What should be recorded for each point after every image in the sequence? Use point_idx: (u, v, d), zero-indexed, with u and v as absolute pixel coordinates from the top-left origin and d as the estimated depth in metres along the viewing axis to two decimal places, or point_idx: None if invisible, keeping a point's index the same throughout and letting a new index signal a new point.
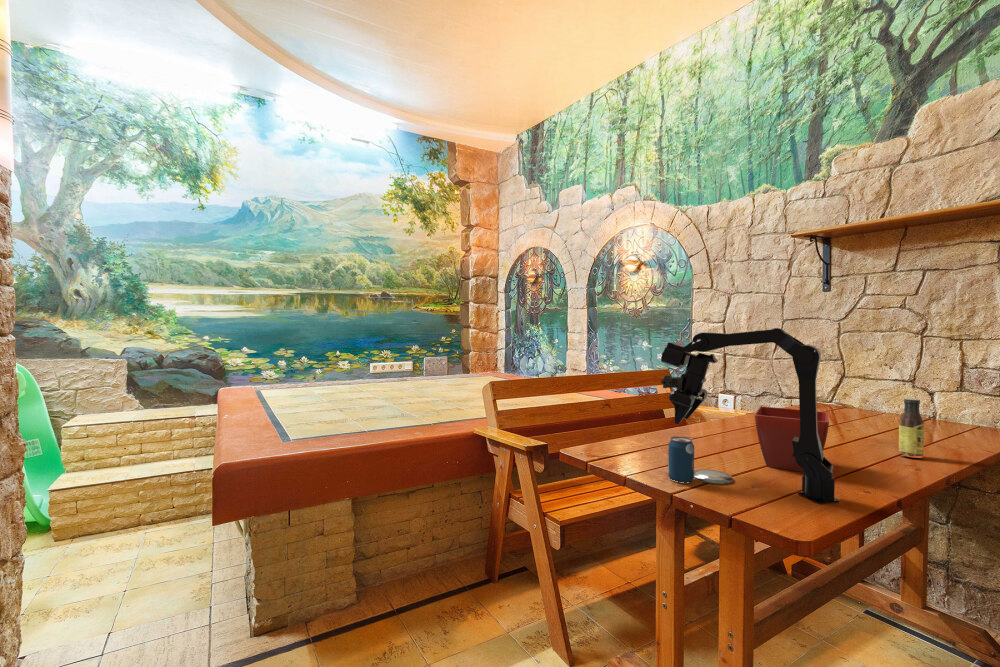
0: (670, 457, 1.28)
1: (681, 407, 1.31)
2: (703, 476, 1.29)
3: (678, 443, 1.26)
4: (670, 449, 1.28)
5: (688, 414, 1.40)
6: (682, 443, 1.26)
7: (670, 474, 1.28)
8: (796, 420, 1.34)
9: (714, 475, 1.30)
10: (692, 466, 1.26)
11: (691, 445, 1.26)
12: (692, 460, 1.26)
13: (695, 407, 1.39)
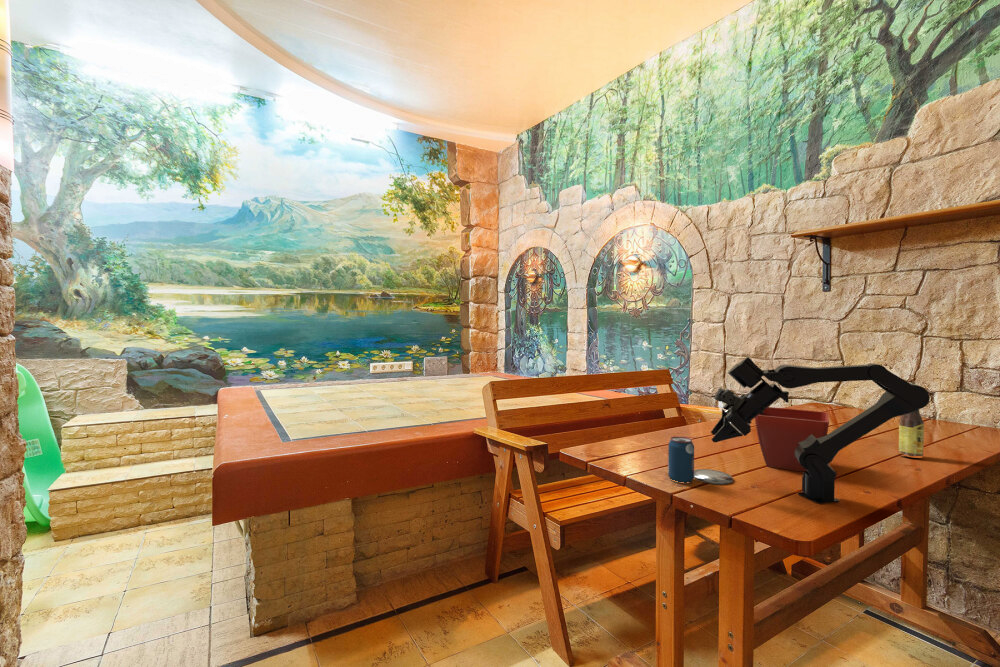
0: (670, 457, 1.28)
1: (729, 429, 1.18)
2: (703, 476, 1.29)
3: (678, 443, 1.26)
4: (670, 449, 1.28)
5: (717, 431, 1.29)
6: (682, 443, 1.26)
7: (670, 474, 1.28)
8: (796, 420, 1.34)
9: (714, 475, 1.30)
10: (692, 466, 1.26)
11: (691, 445, 1.26)
12: (692, 460, 1.26)
13: None
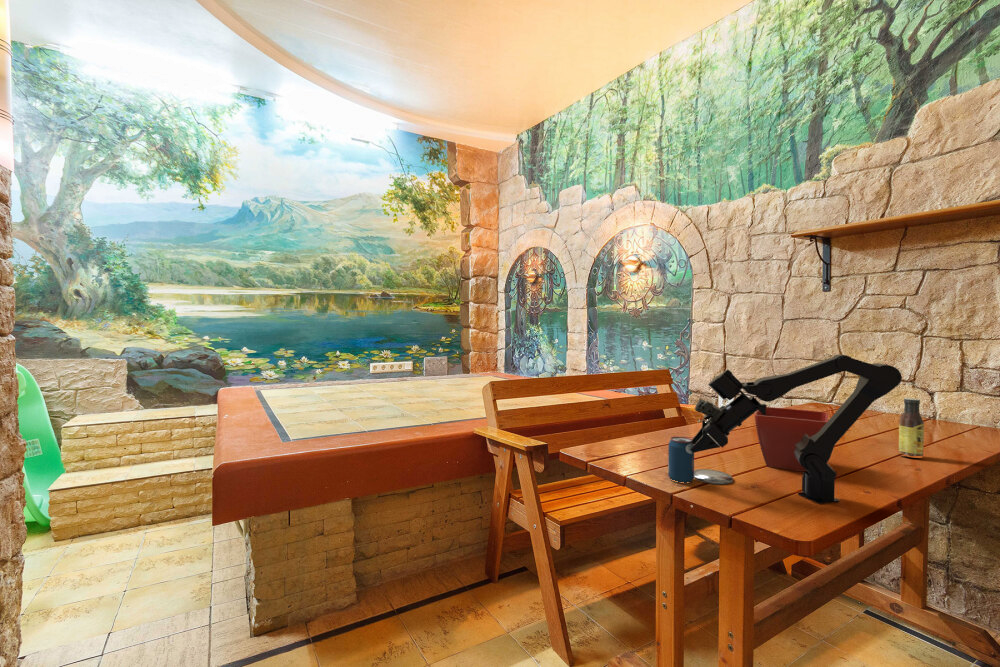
0: (670, 457, 1.28)
1: (708, 440, 1.21)
2: (703, 476, 1.29)
3: (678, 443, 1.26)
4: (670, 449, 1.28)
5: (697, 441, 1.31)
6: (682, 443, 1.26)
7: (670, 474, 1.28)
8: (796, 420, 1.34)
9: (714, 475, 1.30)
10: (692, 466, 1.26)
11: (691, 445, 1.26)
12: (692, 460, 1.26)
13: None
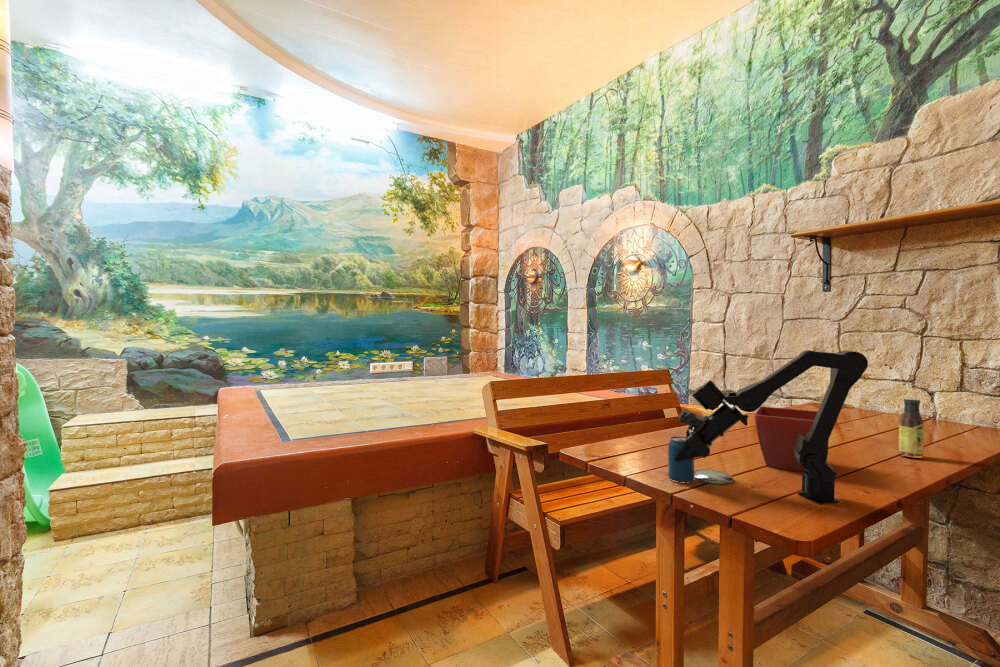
0: (670, 457, 1.28)
1: (691, 450, 1.23)
2: (703, 476, 1.29)
3: (678, 443, 1.26)
4: (670, 449, 1.28)
5: None
6: (682, 443, 1.26)
7: (670, 474, 1.28)
8: (796, 420, 1.34)
9: (714, 475, 1.30)
10: (692, 466, 1.26)
11: None
12: (692, 460, 1.26)
13: None
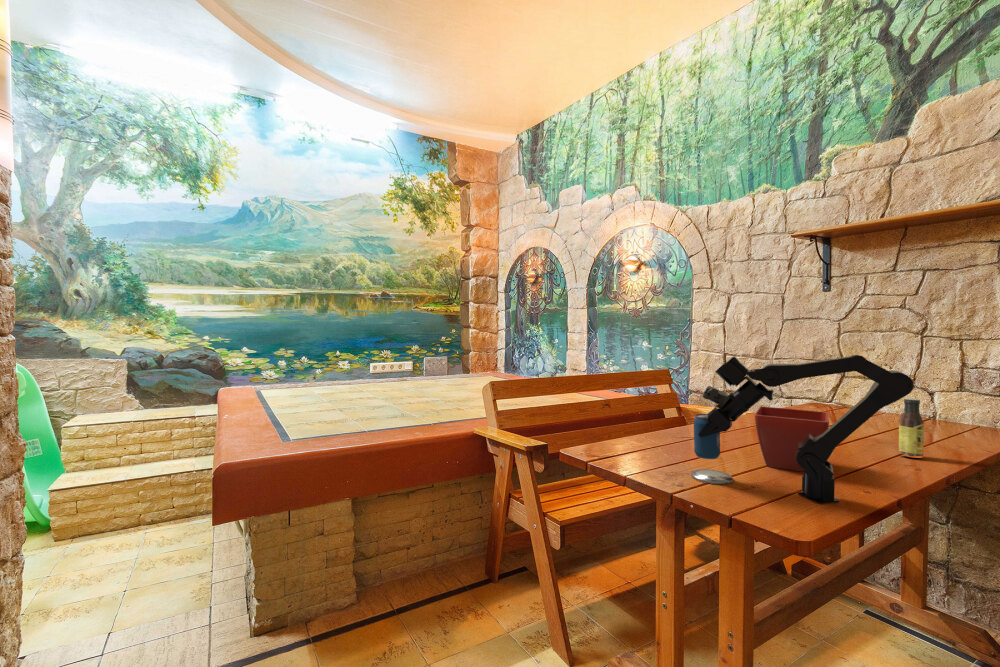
0: (695, 433, 1.30)
1: (714, 425, 1.25)
2: (703, 476, 1.29)
3: (702, 419, 1.28)
4: (695, 426, 1.30)
5: None
6: (706, 419, 1.28)
7: (695, 450, 1.30)
8: (796, 420, 1.34)
9: (714, 475, 1.30)
10: (717, 442, 1.27)
11: None
12: (717, 436, 1.27)
13: None
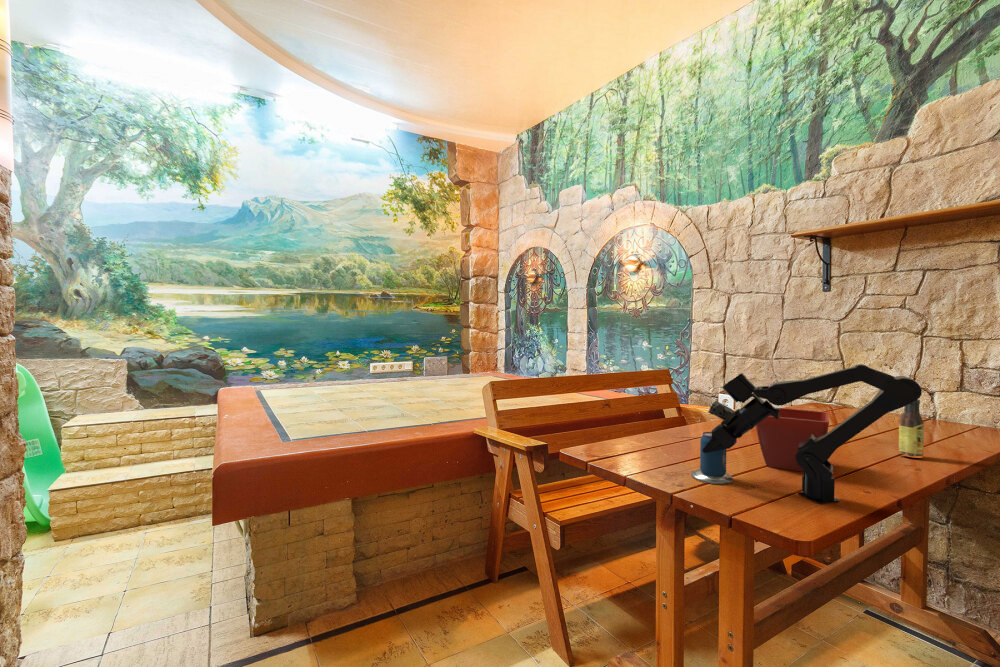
0: (701, 451, 1.31)
1: (718, 442, 1.24)
2: (703, 476, 1.29)
3: (708, 438, 1.29)
4: (701, 443, 1.31)
5: None
6: None
7: (701, 468, 1.31)
8: (796, 420, 1.34)
9: None
10: (723, 461, 1.28)
11: None
12: (723, 455, 1.28)
13: None
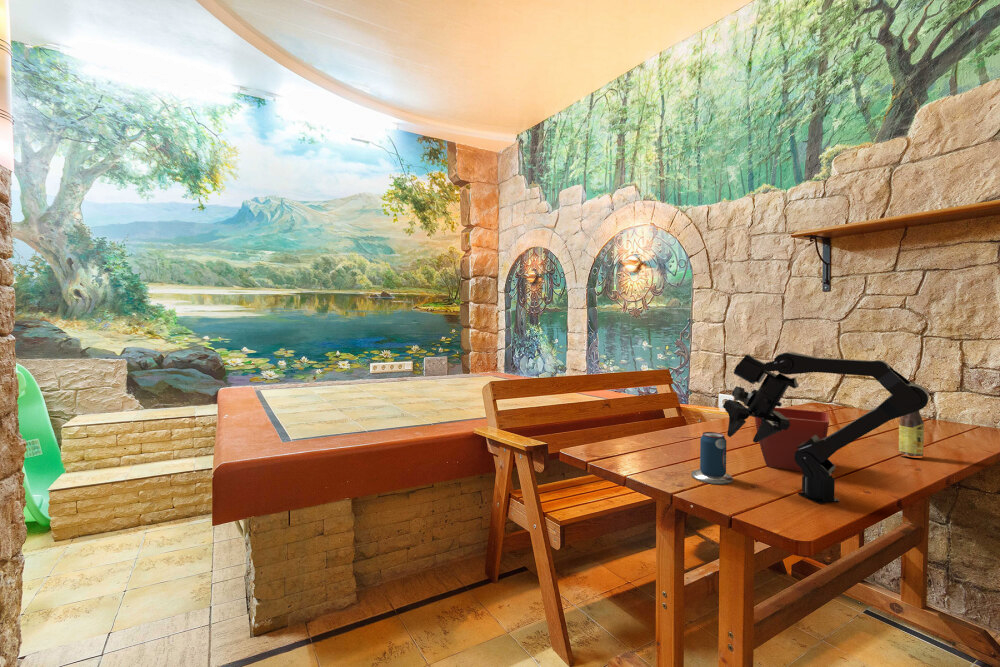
0: (701, 451, 1.31)
1: (735, 420, 1.25)
2: (703, 476, 1.29)
3: (708, 438, 1.29)
4: (701, 444, 1.31)
5: (757, 438, 1.28)
6: (712, 438, 1.28)
7: (700, 468, 1.31)
8: (796, 420, 1.34)
9: None
10: (723, 461, 1.28)
11: (722, 440, 1.28)
12: (723, 455, 1.28)
13: (766, 433, 1.26)
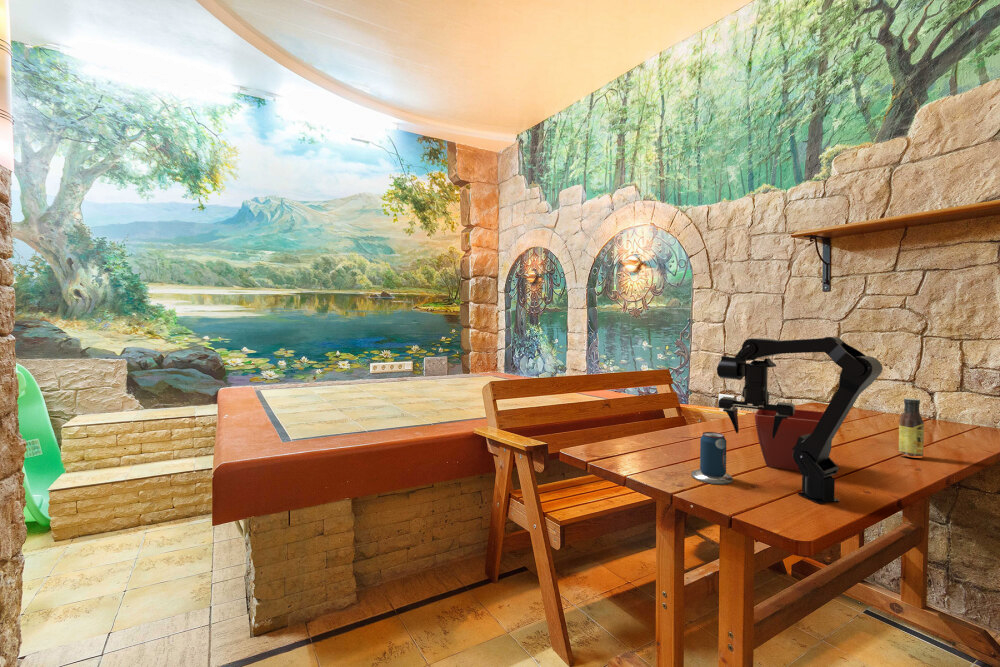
0: (701, 451, 1.31)
1: None
2: (703, 476, 1.29)
3: (708, 438, 1.29)
4: (701, 444, 1.31)
5: None
6: (712, 438, 1.28)
7: (700, 468, 1.31)
8: (796, 420, 1.34)
9: None
10: (723, 461, 1.28)
11: (722, 440, 1.28)
12: (723, 455, 1.28)
13: None
